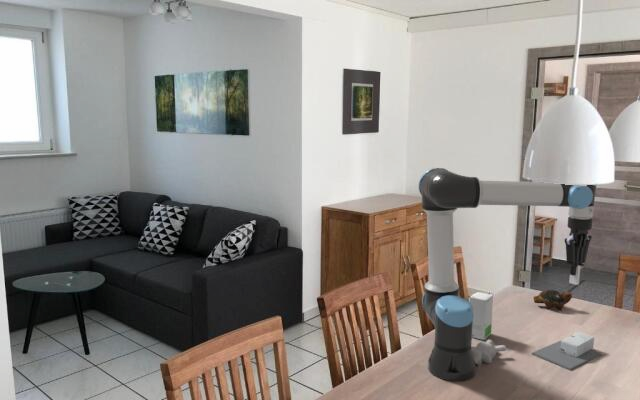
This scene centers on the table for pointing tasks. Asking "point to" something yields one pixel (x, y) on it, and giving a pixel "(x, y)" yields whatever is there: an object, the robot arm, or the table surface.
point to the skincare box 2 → (577, 344)
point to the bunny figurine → (485, 352)
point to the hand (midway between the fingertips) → (573, 283)
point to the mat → (564, 356)
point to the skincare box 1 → (481, 315)
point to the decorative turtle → (553, 299)
